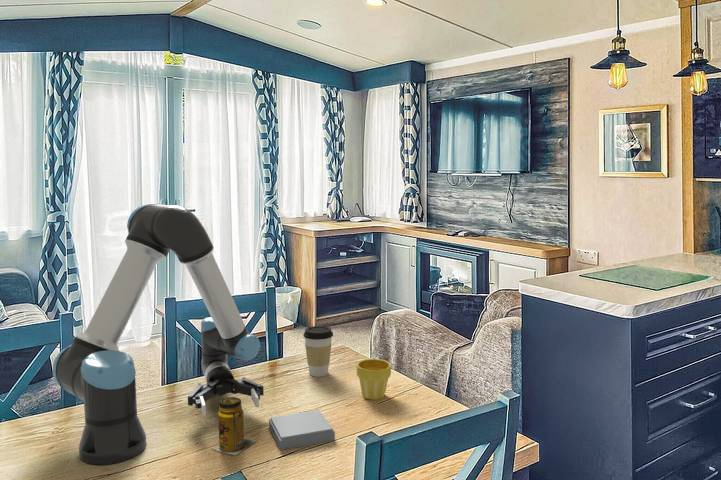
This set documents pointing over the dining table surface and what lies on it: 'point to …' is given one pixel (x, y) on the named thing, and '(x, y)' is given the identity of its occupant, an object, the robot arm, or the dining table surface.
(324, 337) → the coffee cup
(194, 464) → the dining table surface
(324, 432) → the grey square coaster
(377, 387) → the plant pot
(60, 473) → the dining table surface
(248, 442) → the condiment
